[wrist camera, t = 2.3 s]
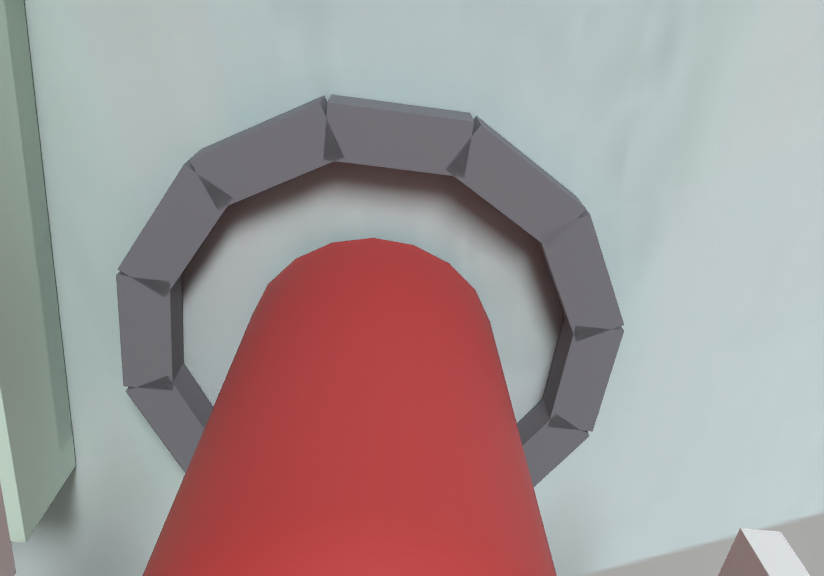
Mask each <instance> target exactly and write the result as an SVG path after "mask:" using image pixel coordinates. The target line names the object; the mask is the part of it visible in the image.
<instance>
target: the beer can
mask: <svg viewBox="0 0 824 576" xmlns="http://www.w3.org/2000/svg"><path fill="white" fill-rule="evenodd" d="M143 576H557V575H556V572H555V568H554V564H553V560H552V556H551V553H550V549H549V545H548V541H547V537H546V534H545V530H544V526H543V522H542V518H541V515H540V511H539V507H538V503H537V499H536V496H535V492H534V488H533V484H532V480H531V477H530V473H529V469H528V465H527V461H526V457H525V454H524V450H523V446H522V442H521V438H520V435H519V431H518V427H517V423H516V419H515V416H514V412H513V408H512V404H511V400H510V397H509V393H508V389H507V385H506V381H505V378H504V374H503V370H502V366H501V362H500V359H499V355H498V351H497V347H496V343H495V340H494V336H493V332H492V328H491V324H490V321H489V319H488V317H487V314H486V312H485V310H484V308H483V306H482V304H481V302H480V299H479V297H478V295H477V293H476V291H475V289H474V288H473V287H472V286H471V285H470V284H469V283H468V282H467V281H466V280H465V279H464V278H463V277H462V276H461V275H460V274H459V273H458V272H457V271H456V270H455V269H454V268H453V267H452V266H451V265H450V264H449V263H447V262H445V261H443V260H441V259H439V258H437V257H436V256H434V255H432V254H430V253H428V252H426V251H424V250H422V249H420V248H418V247H416V246H414V245H410V244H404V243H398V242H393V241H387V240H382V239H376V238H369V239H360V240H351V241H343V242H334V243H330V244H328V245H326V246H324V247H321V248H319V249H317V250H315V251H312V252H310V253H308V254H306V255H303V256H301V257H299V258H297V259H295V260H294V261H293V262H292V263H291V264H290V265H289V266H287V267H286V268H285V269H284V270H283V271H282V272H281V273H280V274H279V275H278V276H277V277H276V278H274V279H273V280H272V281H271V282H270V283H269V284H268V286H267V288H266V290H265V291H264V293H263V295H262V297H261V299H260V301H259V303H258V305H257V307H256V309H255V311H254V313H253V315H252V317H251V319H250V322H249V324H248V326H247V329H246V331H245V334H244V336H243V338H242V341H241V343H240V345H239V348H238V350H237V353H236V355H235V357H234V360H233V362H232V364H231V367H230V369H229V372H228V374H227V376H226V379H225V381H224V383H223V386H222V388H221V391H220V393H219V395H218V398H217V400H216V402H215V405H214V407H213V410H212V412H211V414H210V417H209V419H208V421H207V424H206V426H205V429H204V431H203V433H202V436H201V438H200V440H199V443H198V445H197V448H196V450H195V452H194V455H193V457H192V459H191V462H190V464H189V467H188V469H187V471H186V474H185V476H184V478H183V481H182V483H181V486H180V488H179V490H178V493H177V495H176V497H175V500H174V502H173V505H172V507H171V509H170V512H169V514H168V516H167V519H166V521H165V524H164V526H163V528H162V531H161V533H160V535H159V538H158V540H157V543H156V545H155V547H154V550H153V552H152V554H151V557H150V559H149V562H148V564H147V566H146V569H145V571H144V573H143Z"/></svg>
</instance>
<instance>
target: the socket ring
mask: <svg viewBox="0 0 824 576" xmlns="http://www.w3.org/2000/svg"><path fill="white" fill-rule="evenodd" d="M333 161H337V162H345V163H353V164H361V165H369V166H377V167H385V168H393V169H401V170H409V171H417V172H425V173H433V174H441V175H449V176H454V177H456V178H457V179H458V180H460V181H461V182H462V183H463V184H465V185H466V186H467V187H469V188H470V189H471V190H473V191H474V192H475V193H477V194H478V195H479V196H481V197H482V198H483V199H484V200H486V201H487V202H488V203H490V204H491V205H492V206H494V207H495V208H496V209H498V210H499V211H500V212H501V213H503V214H504V215H505V216H507V217H508V218H509V219H511V220H512V221H513V222H515V223H516V224H517V225H519V226H520V227H521V228H522V229H524V230H525V231H526V232H528V233H529V234H530V235H532V236H533V237H534V238H536V239H537V240H538V241H539V244H540V247H541V250H542V253H543V256H544V259H545V261H546V264H547V267H548V270H549V273H550V276H551V278H552V281H553V284H554V287H555V290H556V293H557V295H558V298H559V301H560V304H561V307H562V310H563V313H564V315H565V317H564V321H563V324H562V328H561V332H560V336H559V340H558V343H557V347H556V351H555V355H554V358H553V362H552V366H551V370H550V373H549V377H548V381H547V385H546V389H545V392H544V396H543V399H542V400H541V401H540V402H539V403H538V404H537V405H536V406H535V407H534V408H533V409H532V410H531V411H530V412H529V413H528V414H527V415H526V416H525V417H524V418H523V419H522V420H521V421H520V422H519V423H518V424H517V427H518V431H519V435H520V438H521V442H522V446H523V450H524V454H525V457H526V461H527V465H528V469H529V473H530V477H531V480H532V484H533V487H535V486H536V485H537V484H538V483H539V482H540V481H541V480H542V479H543V478H544V477H545V476H546V475H548V474H549V473H550V472H551V471H552V470H553V469H554V468H555V467H556V466H557V465H558V464H560V463H561V462H562V461H563V460H564V459H565V458H566V457H567V456H568V455H569V454H570V453H572V452H573V451H574V450H575V449H576V448H577V447H578V446H579V445H580V444H581V443H582V442H583V441H585V440H586V439H587V438H588V437H589V434H588V431H593V428H594V425H595V422H596V419H597V415H598V412H599V409H600V406H601V403H602V399H603V396H604V393H605V390H606V387H607V383H608V380H609V377H610V374H611V371H612V367H613V364H614V361H615V358H616V355H617V352H618V348H619V345H620V342H621V339H622V336H623V332H624V330H623V328H622V327H621V326H623V325H624V323H623V320H622V317H621V313H620V310H619V307H618V304H617V300H616V297H615V294H614V291H613V288H612V284H611V281H610V278H609V275H608V271H607V268H606V265H605V262H604V258H603V255H602V252H601V249H600V245H599V242H598V239H597V236H596V232H595V229H594V226H593V223H592V219H591V216H590V214H589V213H588V211H587V210H586V208H585V207H584V206H583V204H582V203H581V202H580V200H579V199H578V198H577V197H576V196H575V195H574V194H573V193H572V192H570V191H569V190H568V189H567V188H565V187H564V186H563V185H562V184H560V183H559V182H558V181H557V180H555V179H554V178H553V177H552V176H550V175H549V174H548V173H547V172H546V171H544V170H543V169H542V168H541V167H539V166H538V165H537V164H536V163H534V162H533V161H532V160H531V159H529V158H528V157H527V156H526V155H524V154H523V153H522V152H521V151H519V150H518V149H517V148H516V147H514V146H513V145H512V144H511V143H510V142H508V141H507V140H506V139H505V138H503V137H502V136H501V135H500V134H498V133H497V132H496V131H495V130H493V129H492V128H491V127H490V126H488V125H487V124H486V123H485V122H483V121H482V120H481V119H480V118H478V117H477V116H476V117H475V118H474V120H473V118H472V116H471V114H470V113H466V112H459V111H451V110H444V109H436V108H428V107H421V106H413V105H406V104H398V103H391V102H383V101H376V100H368V99H361V98H353V97H346V96H338V95H331V97H330V99H329V100H328V102H327V101H326V99H325V96H322V97H320V98H318V99H315V100H313V101H311V102H308V103H306V104H304V105H302V106H299V107H297V108H295V109H292V110H290V111H288V112H286V113H283V114H281V115H279V116H276V117H274V118H272V119H269V120H267V121H265V122H263V123H260V124H258V125H256V126H253V127H251V128H249V129H247V130H244V131H242V132H240V133H237V134H235V135H233V136H231V137H228V138H226V139H224V140H221V141H219V142H217V143H214V144H212V145H210V146H208V147H205V148H203V149H201V150H200V151H199V152H198V153H197V154H195V155H194V156H193V157H192V158H191V159H190V160H188V161H187V162H186V163H185V164H184V165H183V167H182V168H181V170H180V172H179V173H178V175H177V176H176V178H175V180H174V181H173V183H172V184H171V186H170V187H169V189H168V191H167V192H166V194H165V195H164V197H163V198H162V200H161V202H160V203H159V205H158V206H157V208H156V210H155V211H154V213H153V214H152V216H151V217H150V219H149V221H148V222H147V224H146V225H145V227H144V228H143V230H142V232H141V233H140V235H139V236H138V238H137V240H136V241H135V243H134V244H133V246H132V247H131V249H130V251H129V252H128V254H127V255H126V257H125V259H124V260H123V262H122V263H121V265H120V266H119V268H118V270H120V272H119V273H118V274H117V275H116V280H117V295H118V310H119V325H120V340H121V355H122V369H123V384H124V386H128V389H127V390H126V393H127V394H128V395H129V397H130V398H131V399H132V401H133V402H134V403H135V405H136V406H137V408H138V409H139V410H140V412H141V413H142V414H143V416H144V417H145V418H146V420H147V421H148V423H149V424H150V425H151V427H152V428H153V429H154V431H155V432H156V434H157V435H158V436H159V438H160V439H161V440H162V442H163V443H164V444H165V446H166V447H167V449H168V450H169V451H170V453H171V454H172V455H173V457H174V458H175V460H176V461H177V462H178V464H179V465H180V466H181V468H182V469H183V470H184V472H185V473H186V471H187V469H188V467H189V464H190V462H191V459H192V457H193V455H194V452H195V450H196V448H197V445H198V443H199V440H200V438H201V436H202V433H203V431H204V429H205V426H206V424H207V421H208V419H209V417H210V414H211V412H212V410H213V406H212V405H211V403H210V402H209V400H208V399H207V397H206V396H205V394H204V393H203V391H202V390H201V388H200V387H199V385H198V384H197V382H196V381H195V379H194V378H193V376H192V375H191V373H190V372H189V370H188V369H187V367H186V366H185V364H184V362H183V312H182V273H183V271H184V270H185V268H186V267H187V265H188V264H189V262H190V261H191V260H192V258H193V257H194V255H195V254H196V252H197V251H198V249H199V248H200V246H201V245H202V243H203V242H204V240H205V239H206V237H207V236H208V235H209V233H210V232H211V230H212V229H213V227H214V226H215V224H216V223H217V221H218V220H219V218H220V217H221V215H222V214H223V212H224V211H225V209H226V208H227V207H228V205H231V204H233V203H236V202H238V201H240V200H243V199H245V198H247V197H250V196H252V195H255V194H257V193H259V192H262V191H264V190H267V189H269V188H271V187H274V186H276V185H278V184H281V183H283V182H286V181H288V180H290V179H293V178H295V177H298V176H300V175H302V174H305V173H307V172H310V171H312V170H314V169H317V168H319V167H321V166H324V165H326V164H329V163H331V162H333Z"/></svg>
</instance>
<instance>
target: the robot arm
mask: <svg viewBox="0 0 824 576" xmlns="http://www.w3.org/2000/svg"><path fill="white" fill-rule="evenodd" d="M15 573H16V569H15V563H14V558H13V552H12V546H11V540H10V535H9V529H8V523H7V517H6V512H5V506H4V500H3V494H2V489H1V483H0V576H14V575H15ZM718 576H810V575H809V573H808V572H807V570H806V569H805V568H804V566H803V565H802V563H801V562H800V560H799V559H798V557H797V556H796V554H795V553H794V551H793V550H792V548H791V547H790V545H789V544H788V542H787V541H786V539H785V538H784V536H783V535H782V533H781V532H777V531H766V530H756V529H746V528H740V530H739V532H738V534H737V536H736V538H735V541H734V543H733V545H732V547H731V549H730V551H729V553H728V556H727V558H726V560H725V562H724V564H723V566H722V568H721V571H720V573H719V575H718Z"/></svg>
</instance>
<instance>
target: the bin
mask: <svg viewBox="0 0 824 576" xmlns="http://www.w3.org/2000/svg"><path fill="white" fill-rule="evenodd" d="M75 466H76V462H75V453H74V444H73V435H72V426H71V417H70V408H69V400H68V391H67V382H66V373H65V364H64V355H63V346H62V337H61V328H60V319H59V310H58V301H57V292H56V284H55V275H54V266H53V257H52V248H51V239H50V230H49V221H48V212H47V203H46V194H45V185H44V176H43V167H42V159H41V150H40V141H39V132H38V123H37V114H36V105H35V96H34V87H33V78H32V69H31V60H30V51H29V43H28V34H27V25H26V16H25V7H24V0H0V483H1V489H2V494H3V500H4V506H5V512H6V517H7V523H8V529H9V535H10V540H11V541H14V542H27V540H28V538H29V537H30V535H31V534H32V532H33V531H34V529H35V528H36V526H37V525H38V523H39V521H40V520H41V518H42V517H43V515H44V514H45V512H46V511H47V509H48V508H49V506H50V505H51V503H52V501H53V500H54V498H55V497H56V495H57V494H58V492H59V491H60V489H61V488H62V486H63V485H64V483H65V481H66V480H67V478H68V477H69V475H70V474H71V472H72V471H73V469H74V468H75Z"/></svg>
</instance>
